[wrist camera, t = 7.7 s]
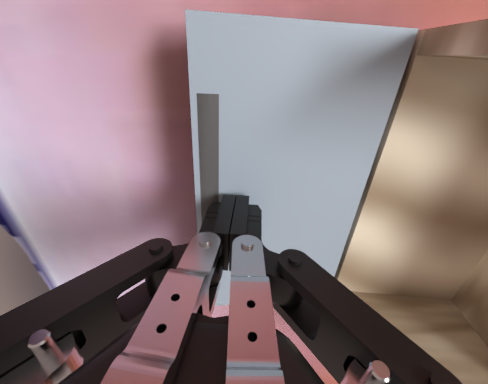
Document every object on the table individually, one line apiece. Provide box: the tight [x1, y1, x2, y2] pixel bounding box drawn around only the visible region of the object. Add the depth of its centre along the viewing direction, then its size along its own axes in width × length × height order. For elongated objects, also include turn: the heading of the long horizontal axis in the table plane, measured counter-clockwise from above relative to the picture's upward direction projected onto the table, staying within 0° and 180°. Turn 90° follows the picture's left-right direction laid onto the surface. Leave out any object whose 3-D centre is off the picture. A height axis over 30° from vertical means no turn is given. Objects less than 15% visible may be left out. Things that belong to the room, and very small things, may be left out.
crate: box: [334, 19, 488, 384], centre depth 13 cm, size 18×10×7 cm, turn 177°
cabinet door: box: [185, 10, 419, 306], centre depth 15 cm, size 18×1×10 cm
